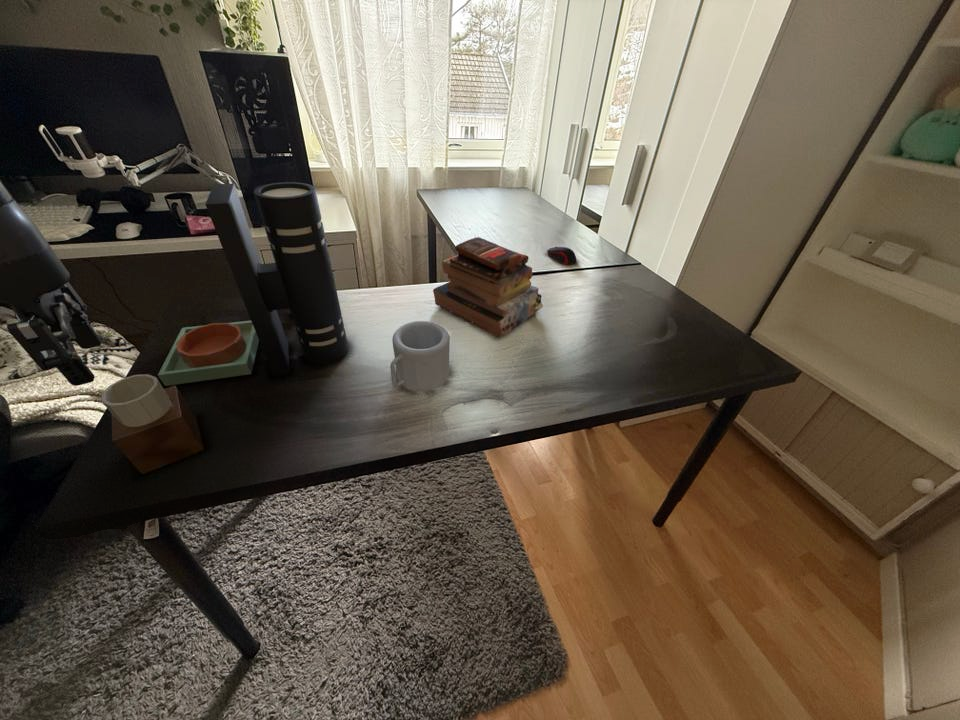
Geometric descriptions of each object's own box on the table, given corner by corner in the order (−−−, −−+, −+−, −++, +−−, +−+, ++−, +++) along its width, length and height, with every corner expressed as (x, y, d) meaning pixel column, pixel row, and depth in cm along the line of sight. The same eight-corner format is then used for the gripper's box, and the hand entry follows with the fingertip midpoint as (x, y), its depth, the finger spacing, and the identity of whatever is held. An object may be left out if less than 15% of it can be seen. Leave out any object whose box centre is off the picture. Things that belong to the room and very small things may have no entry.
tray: (251, 374, 74) (246, 363, 72) (164, 386, 70) (157, 375, 68) (261, 330, 85) (257, 319, 84) (187, 338, 82) (181, 327, 80)
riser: (142, 474, 56) (111, 441, 51) (139, 439, 61) (111, 405, 56) (204, 449, 60) (181, 416, 55) (196, 418, 65) (175, 385, 60)
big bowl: (188, 377, 71) (180, 362, 69) (181, 347, 78) (173, 333, 76) (252, 357, 77) (246, 343, 74) (240, 331, 83) (234, 317, 81)
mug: (421, 351, 83) (419, 313, 76) (460, 372, 78) (461, 333, 72) (374, 384, 74) (368, 344, 67) (415, 409, 69) (412, 369, 63)
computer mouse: (557, 250, 131) (560, 239, 128) (579, 262, 124) (582, 251, 121) (544, 253, 128) (546, 242, 126) (565, 266, 121) (568, 254, 119)
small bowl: (120, 433, 52) (101, 411, 49) (118, 406, 56) (101, 384, 53) (173, 415, 55) (158, 393, 52) (169, 390, 59) (155, 369, 56)
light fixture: (351, 362, 79) (317, 198, 58) (273, 377, 74) (205, 204, 53) (345, 334, 86) (313, 179, 65) (273, 346, 81) (213, 183, 60)
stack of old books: (543, 314, 98) (555, 252, 87) (502, 344, 86) (510, 277, 76) (476, 284, 108) (480, 225, 97) (432, 307, 97) (430, 243, 86)
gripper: (-31, 230, 43) (61, 343, 53) (-83, 284, 34) (40, 407, 44) (57, 221, 46) (127, 329, 57) (31, 268, 37) (120, 386, 48)
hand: (89, 363), depth 50 cm, fingers open, 8 cm apart
